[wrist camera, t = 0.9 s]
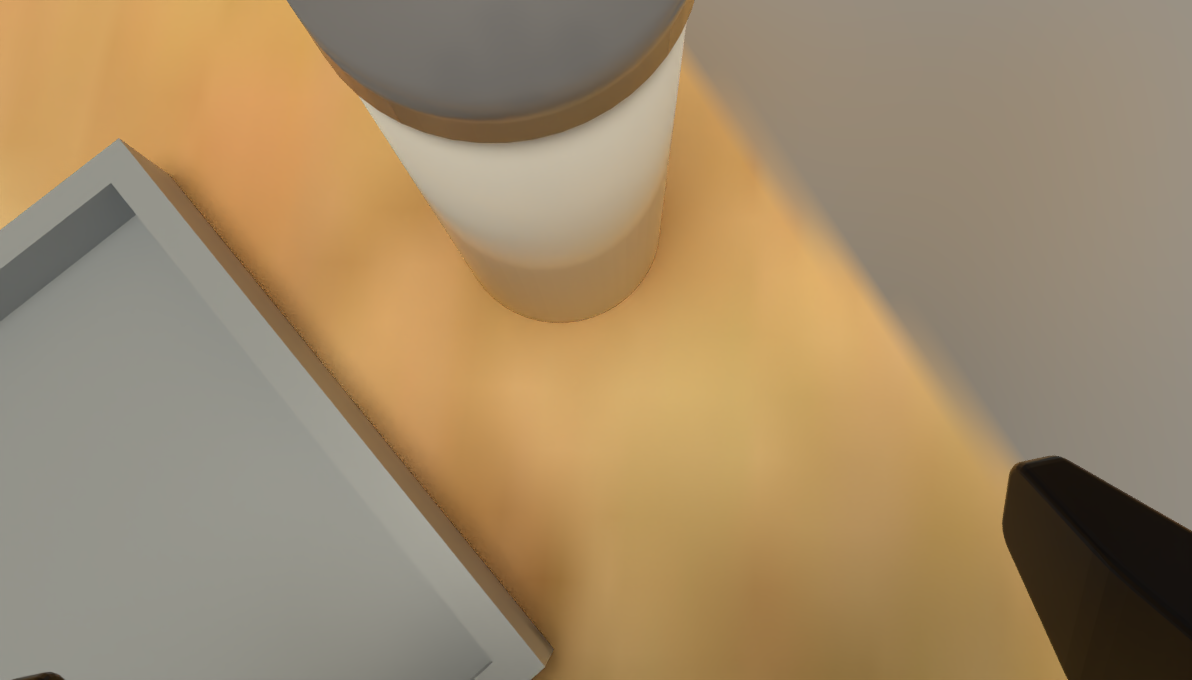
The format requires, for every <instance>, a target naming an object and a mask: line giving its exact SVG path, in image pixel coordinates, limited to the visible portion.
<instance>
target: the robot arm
mask: <svg viewBox="0 0 1192 680" xmlns="http://www.w3.org/2000/svg"><path fill="white" fill-rule="evenodd" d="M1002 527H1003V534H1004V538H1005V541H1006V545H1007V547H1008V549H1009V552H1010V554H1011V556H1012V558H1013V560H1014V563H1015V565H1016V567H1017V569H1018V571H1019V574H1020V576H1021V578H1022V580H1023V582H1024V585H1025V587H1026V589H1027V591H1028V593H1029V596H1030V598H1031V600H1032V602H1033V605H1034V607H1035V609H1036V611H1037V613H1038V616H1039V618H1040V620H1041V622H1042V624H1043V627H1044V629H1045V631H1046V633H1047V635H1048V638H1049V640H1050V642H1051V644H1052V646H1053V649H1054V651H1055V653H1056V655H1057V657H1058V660H1059V662H1060V664H1061V666H1062V668H1063V671H1064V673H1065V675H1066V677H1067V679H1068V680H1192V531H1191V530H1189V529H1187V528H1186V527H1184V526H1182V525H1180V524H1179V523H1177V522H1175V521H1174V520H1172V519H1170V518H1168V517H1166V516H1165V515H1163V514H1161V513H1160V512H1158V511H1156V510H1154V509H1153V508H1151V507H1149V506H1147V505H1145V504H1144V503H1142V502H1140V501H1139V500H1137V499H1135V498H1133V497H1132V496H1130V495H1128V494H1127V493H1125V492H1123V491H1121V490H1120V489H1118V488H1116V487H1114V486H1112V485H1111V484H1109V483H1107V482H1106V481H1104V480H1102V479H1100V478H1099V477H1097V476H1095V475H1093V474H1092V473H1090V472H1088V471H1086V470H1085V469H1083V468H1081V467H1080V466H1078V465H1076V464H1074V463H1073V462H1071V461H1069V460H1067V459H1065V458H1062V457H1059V456H1046V457H1042V458H1037V459H1032V460H1028V461H1023V462H1019V463H1017V464H1015V465H1014V466H1013V468H1012V469H1011V471H1010V474H1009V479H1008V486H1007V493H1006V499H1005V506H1004V513H1003V520H1002ZM13 680H65V679H64V678H63V677H62V676H60V675H59V674H57V673H53V672H43V673H39V674H34V675H29V676H25V677H20V678H16V679H13Z"/></svg>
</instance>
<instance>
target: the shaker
mask: <svg viewBox="0 0 1192 680" xmlns="http://www.w3.org/2000/svg"><path fill="white" fill-rule="evenodd" d="M287 1H288V3H289V4H290V6H291V7H292V9H293V10H294V12H295V13H296V15H297V16H298V18H299V19H300V21H301V22H302V24H303V25H304V27H305V28H306V30H307V31H308V33H309V34H310V36H311V37H312V39H313V40H314V42H315V43H316V45H317V46H318V48H319V50H320V51H321V53H322V54H323V56H324V57H325V58H326V60H327V61H328V62H329V64H330V65H331V66H332V68H333V69H334V70H335V72H336V73H337V74H338V76H339V77H340V78H341V79H342V80H343V81H344V82H345V83H346V84H347V85H348V86H349V87H350V88H351V89H352V90H353V91H354V92H355V93H356V94H357V95H358V96H359V97H360V99H361V100H362V102H363V103H364V105H365V106H366V108H367V110H368V111H369V113H370V114H371V116H372V117H373V119H374V120H375V122H376V123H377V125H378V127H379V128H380V130H381V131H382V133H383V134H384V136H385V137H386V139H387V140H388V142H389V144H390V145H391V147H392V148H393V150H394V151H395V153H396V154H397V156H398V158H399V159H400V161H401V162H402V164H403V165H404V167H405V168H406V170H407V171H408V173H409V175H410V176H411V178H412V179H413V181H414V182H415V184H416V185H417V187H418V189H419V190H420V192H421V193H422V195H423V196H424V198H425V199H426V201H427V202H428V204H429V206H430V207H431V209H432V210H433V212H434V213H435V215H436V216H437V218H438V219H439V221H440V223H441V224H442V226H443V227H444V229H445V230H446V232H447V233H448V235H449V237H450V238H451V240H452V241H453V243H454V244H455V246H456V247H457V249H458V250H459V252H460V254H461V255H462V257H463V258H464V260H465V261H466V263H467V264H468V266H469V268H470V269H471V271H472V272H473V274H474V275H475V277H476V278H477V280H478V281H479V282H480V284H481V285H482V286H483V288H484V289H485V290H486V291H487V292H488V293H489V294H490V295H491V296H492V297H493V298H494V299H495V300H497V301H498V302H499V303H500V304H502V305H503V306H505V307H506V308H508V309H510V310H512V311H513V312H515V313H517V314H520V315H522V316H525V317H527V318H531V319H535V320H539V321H545V322H558V323H566V322H574V321H580V320H584V319H588V318H592V317H594V316H597V315H599V314H602V313H604V312H606V311H608V310H610V309H611V308H613V307H615V306H616V305H618V304H619V303H620V302H622V301H623V300H624V299H626V298H627V297H628V296H629V295H630V294H631V293H632V292H633V291H634V290H635V289H636V288H637V287H638V285H639V284H640V283H641V281H642V280H643V279H644V277H645V276H646V274H647V272H648V271H649V269H650V267H651V264H652V262H653V260H654V257H655V254H656V251H657V247H658V243H659V235H660V227H661V220H662V212H663V204H664V196H665V188H666V180H667V172H668V164H669V156H670V148H671V140H672V132H673V124H674V116H675V109H676V101H677V93H678V85H679V77H680V69H681V61H682V53H683V45H684V37H685V28H686V22H687V20H688V17H689V15H690V13H691V10H692V7H693V4H694V0H287Z"/></svg>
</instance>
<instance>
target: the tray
mask: <svg viewBox="0 0 1192 680" xmlns="http://www.w3.org/2000/svg"><path fill="white" fill-rule="evenodd" d="M553 650H554V649H553V647H552V646H551V645H550V644H549V642H548V641H547V640H546V639H545V638H544V636H543V635H542V634H541V633H540V631H539V630H538V629H537V628H536V626H535V625H534V624H533V623H532V622H531V620H530V619H529V618H528V617H527V615H526V614H525V613H524V612H523V610H522V609H521V608H520V607H519V605H518V604H517V603H516V602H515V601H514V599H513V598H512V597H511V596H510V594H509V593H508V592H507V591H506V589H505V588H504V587H503V586H502V585H501V583H500V582H499V581H498V580H497V578H496V577H495V576H494V575H493V573H492V572H491V571H490V570H489V569H488V567H487V566H486V565H485V564H484V562H483V561H482V560H481V559H480V557H479V556H478V555H477V554H476V552H475V551H474V550H473V549H472V548H471V546H470V545H469V544H468V543H467V541H466V540H465V539H464V538H463V536H462V535H461V534H460V533H459V532H458V530H457V529H456V528H455V527H454V525H453V524H452V523H451V522H450V520H449V519H448V518H447V517H446V516H445V514H444V513H443V512H442V511H441V509H440V508H439V507H438V506H437V504H436V503H435V502H434V501H433V499H432V498H431V497H430V496H429V495H428V493H427V492H426V491H425V490H424V488H423V487H422V486H421V485H420V483H419V482H418V481H417V480H416V479H415V477H414V476H413V475H412V474H411V472H410V471H409V470H408V469H407V467H406V466H405V465H404V464H403V462H402V461H401V460H400V459H399V458H398V456H397V455H396V454H395V453H394V451H393V450H392V449H391V448H390V446H389V445H388V444H387V443H386V442H385V440H384V439H383V438H382V437H381V435H380V434H379V433H378V432H377V430H376V429H375V428H374V427H373V426H372V424H371V423H370V422H369V421H368V419H367V418H366V417H365V416H364V414H363V413H362V412H361V411H360V409H359V408H358V407H357V406H356V405H355V403H354V402H353V401H352V400H351V398H350V397H349V396H348V395H347V393H346V392H345V391H344V390H343V389H342V387H341V386H340V385H339V384H338V382H337V381H336V380H335V379H334V377H333V376H332V375H331V374H330V372H329V371H328V370H327V369H326V368H325V366H324V365H323V364H322V363H321V361H320V360H319V359H318V358H317V356H316V355H315V354H314V353H313V352H312V350H311V349H310V348H309V347H308V345H307V344H306V343H305V342H304V340H303V339H302V338H301V337H300V336H299V334H298V333H297V332H296V331H295V329H294V328H293V327H292V326H291V324H290V323H289V322H288V321H287V319H286V318H285V317H284V316H283V315H282V313H281V312H280V311H279V310H278V308H277V307H276V306H275V305H274V303H273V302H272V301H271V300H270V299H269V297H268V296H267V295H266V294H265V292H264V291H263V290H262V289H261V287H260V286H259V285H258V284H257V282H256V281H255V280H254V279H253V278H252V276H251V275H250V274H249V273H248V271H247V270H246V269H245V268H244V266H243V265H242V264H241V263H240V262H239V260H238V259H237V258H236V257H235V255H234V254H233V253H232V252H231V250H230V249H229V248H228V247H227V246H226V244H225V243H224V242H223V241H222V239H221V238H220V237H219V236H218V234H217V233H216V232H215V231H214V229H213V228H212V227H211V226H210V225H209V223H208V222H207V221H206V220H205V218H204V217H203V216H202V215H201V213H200V212H199V211H198V210H197V209H196V207H195V206H194V205H193V204H192V202H191V201H190V200H189V199H188V197H187V196H186V195H185V194H184V192H183V191H182V190H181V189H180V188H179V186H178V185H177V184H176V183H175V181H174V180H173V179H172V178H171V176H170V175H169V174H167V173H166V172H164V171H163V170H162V169H160V168H159V167H158V166H156V165H155V164H153V163H152V162H151V161H149V160H148V159H147V158H145V157H144V156H142V155H141V154H140V153H138V152H137V151H136V150H134V149H133V148H132V147H130V146H129V145H127V144H126V143H125V142H123V141H122V140H121V139H117V140H116V141H115V142H113V143H112V144H111V145H110V146H108V147H107V148H106V149H104V150H103V151H102V152H101V153H99V154H98V155H97V156H95V157H94V158H93V159H91V160H90V161H89V162H88V163H86V164H85V165H84V166H82V167H81V168H80V169H79V170H77V171H76V172H75V173H73V174H72V175H71V176H70V177H68V178H67V179H66V180H64V181H63V182H62V183H60V184H59V185H58V186H57V187H55V188H54V189H53V190H51V191H50V192H49V193H48V194H46V195H45V196H44V197H42V198H41V199H40V200H39V201H37V202H36V203H35V204H33V205H32V206H31V207H29V208H28V209H27V210H26V211H24V212H23V213H22V214H20V215H19V216H18V217H17V218H15V219H14V220H13V221H11V222H10V223H9V224H8V225H6V226H5V227H4V228H2V229H1V230H0V680H13V679H16V678H20V677H25V676H29V675H34V674H39V673H43V672H53V673H57V674H59V675H60V676H62V677H63V678H64V679H65V680H531V679H532V678H533V677H534V676H536V675H537V674H538V673H539V672H540V671H541V670H542V669H543V668H544V667H545V666H546V664H547V662H548V660H549V658H550V656H551V654H552V652H553Z"/></svg>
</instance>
